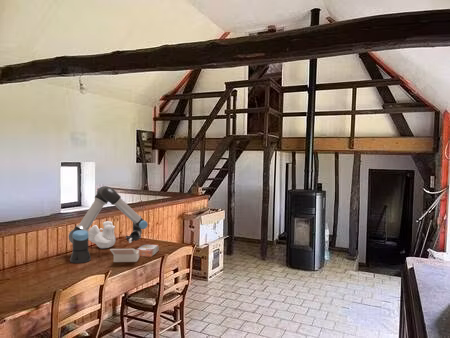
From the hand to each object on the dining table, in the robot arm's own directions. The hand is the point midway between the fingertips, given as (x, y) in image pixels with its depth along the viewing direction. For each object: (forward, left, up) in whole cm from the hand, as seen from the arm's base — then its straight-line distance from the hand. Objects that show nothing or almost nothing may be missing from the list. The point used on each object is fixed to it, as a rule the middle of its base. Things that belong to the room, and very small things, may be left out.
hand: (129, 241), depth 284 cm
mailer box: (-3, 0, -14) cm, 15 cm away
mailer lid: (-10, -11, -5) cm, 15 cm away
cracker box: (+27, +14, -11) cm, 32 cm away
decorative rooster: (-3, +53, -15) cm, 55 cm away
